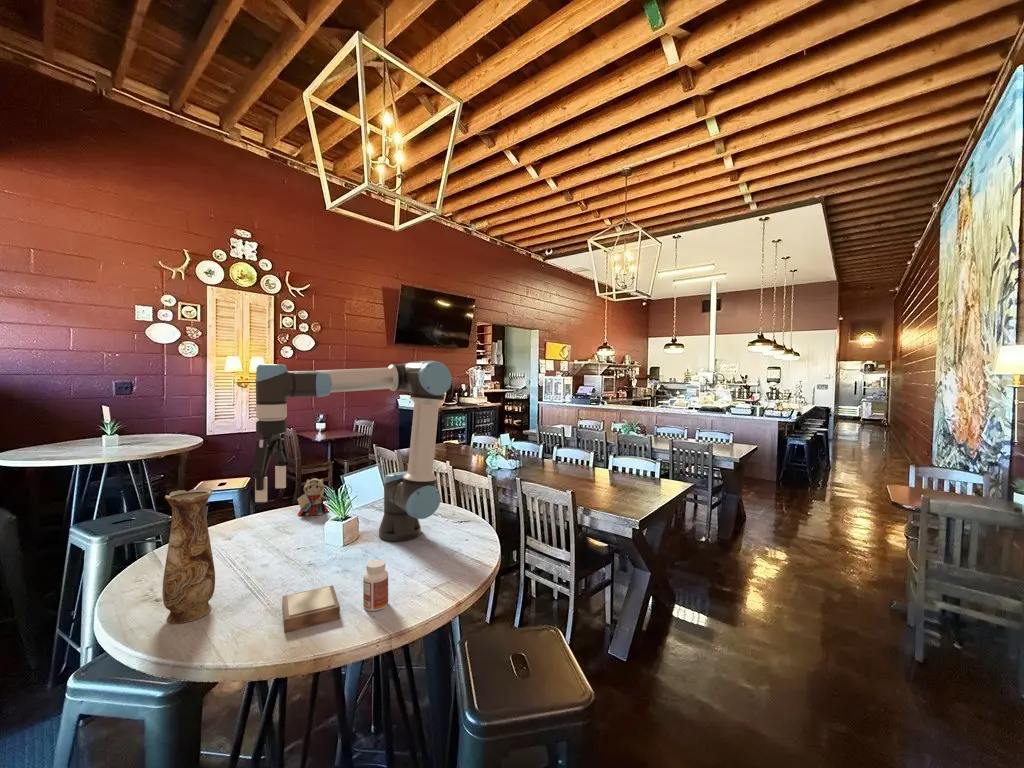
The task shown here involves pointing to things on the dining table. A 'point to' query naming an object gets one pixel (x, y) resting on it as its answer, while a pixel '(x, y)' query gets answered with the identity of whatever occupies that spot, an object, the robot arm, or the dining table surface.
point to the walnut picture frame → (310, 608)
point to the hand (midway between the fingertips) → (271, 494)
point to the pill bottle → (375, 586)
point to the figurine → (312, 498)
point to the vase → (188, 558)
